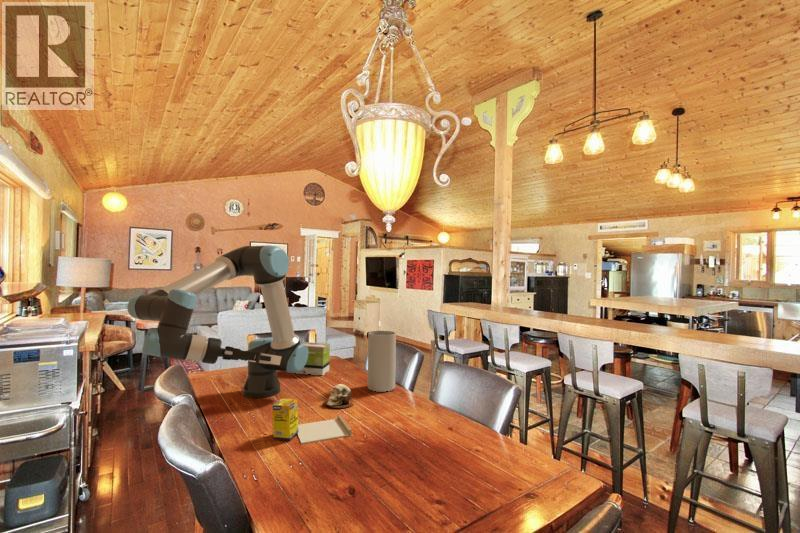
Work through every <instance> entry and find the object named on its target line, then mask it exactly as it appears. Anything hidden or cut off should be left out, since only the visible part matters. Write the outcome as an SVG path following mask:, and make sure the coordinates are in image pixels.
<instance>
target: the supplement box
mask: <svg viewBox="0 0 800 533" xmlns="http://www.w3.org/2000/svg"><path fill="white" fill-rule="evenodd" d="M298 401H299V400H298V398H297V399H295V398H281V399H279V400H278V401H277V402H275V403H273V404H272V406H271V407H272V408H271V409H272V410H271V412H272V434H273V435H272V436H273V440H280V441H291V440H292V439H293V438H294V437H295V436H296V435H297V433H298V432H299V431H298V425H299V407H298V406H299V405H298V404H299V403H298Z"/></svg>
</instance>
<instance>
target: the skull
mask: <svg viewBox="0 0 800 533" xmlns="http://www.w3.org/2000/svg"><path fill="white" fill-rule="evenodd" d="M329 395H330V396H329V397H328V399H326V400H325V401H323V405H324V406H326V407H328V408H335V409H345V408H346V409H347V408H350V407H352V406H354V404H355V403H354V404H353V403H350V404H349V402H350V400H351V397H352V390H351V388H350V387H349V386H347V385H346V384H344V383H339V384H337V385H335V386H334V387H333V388H332V392H330V394H329Z"/></svg>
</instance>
